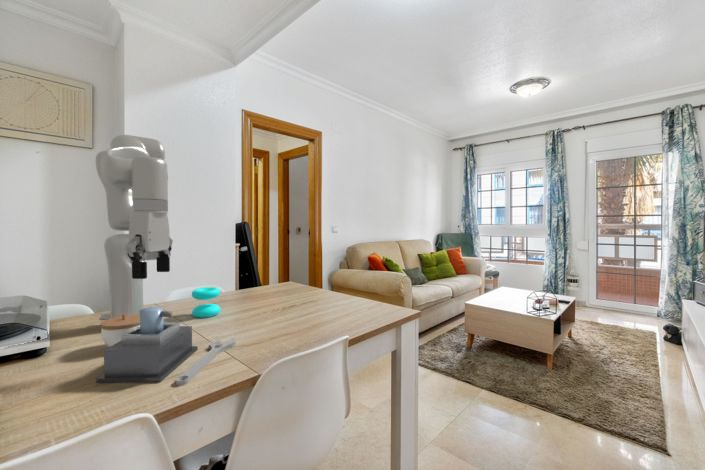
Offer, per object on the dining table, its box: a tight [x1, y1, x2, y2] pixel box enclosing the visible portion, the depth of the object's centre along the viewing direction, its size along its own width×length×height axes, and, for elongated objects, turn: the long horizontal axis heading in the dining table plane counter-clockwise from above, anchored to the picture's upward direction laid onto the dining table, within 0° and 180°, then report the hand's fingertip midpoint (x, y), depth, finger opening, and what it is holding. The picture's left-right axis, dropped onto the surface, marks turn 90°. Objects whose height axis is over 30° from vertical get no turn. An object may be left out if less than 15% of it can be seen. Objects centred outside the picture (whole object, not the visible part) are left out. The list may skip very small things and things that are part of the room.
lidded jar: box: [99, 314, 140, 348], centre depth 91 cm, size 11×11×9 cm
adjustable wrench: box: [175, 337, 237, 387], centre depth 82 cm, size 25×6×2 cm, turn 174°
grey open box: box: [96, 322, 198, 384], centre depth 79 cm, size 14×18×9 cm
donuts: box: [191, 286, 221, 319], centre depth 122 cm, size 10×10×10 cm
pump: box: [139, 306, 173, 334], centre depth 79 cm, size 7×5×7 cm
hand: (152, 274), depth 80 cm, fingers open, 9 cm apart
